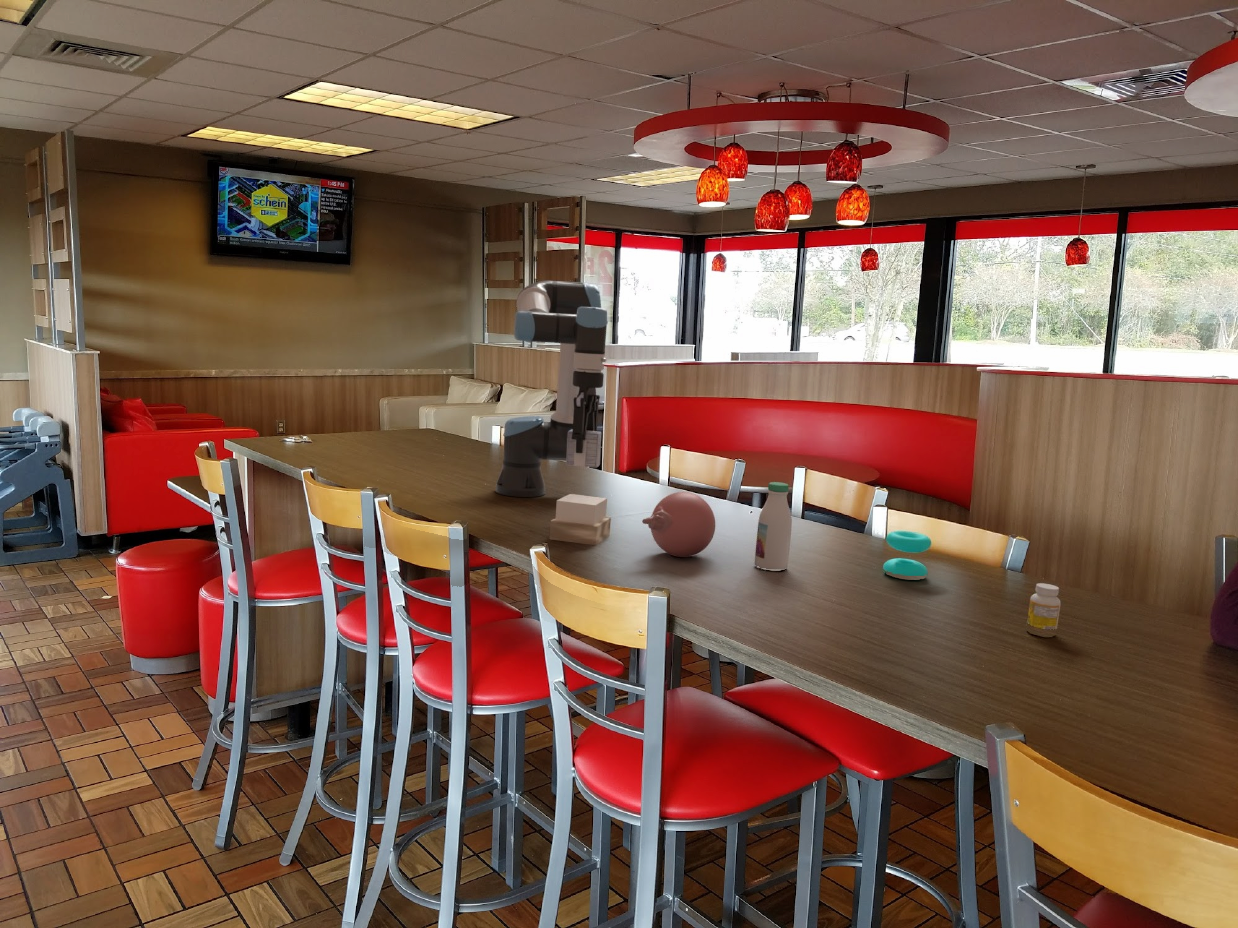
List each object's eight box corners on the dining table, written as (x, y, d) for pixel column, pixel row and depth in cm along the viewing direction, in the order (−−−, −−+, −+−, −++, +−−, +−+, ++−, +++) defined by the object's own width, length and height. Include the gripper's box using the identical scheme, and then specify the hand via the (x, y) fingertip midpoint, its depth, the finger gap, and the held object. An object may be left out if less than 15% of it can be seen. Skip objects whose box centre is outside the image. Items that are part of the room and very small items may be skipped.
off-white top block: (568, 512, 237) (570, 493, 237) (605, 517, 235) (607, 498, 234) (555, 520, 228) (556, 500, 227) (593, 525, 225) (595, 505, 224)
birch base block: (565, 530, 239) (566, 511, 238) (609, 536, 236) (610, 517, 235) (549, 540, 228) (550, 520, 227) (595, 546, 225) (596, 526, 224)
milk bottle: (790, 566, 217) (798, 483, 213) (784, 574, 209) (793, 488, 206) (757, 561, 219) (765, 479, 216) (751, 569, 212) (759, 483, 209)
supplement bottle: (1051, 640, 175) (1058, 592, 173) (1022, 633, 178) (1028, 585, 177) (1059, 634, 179) (1066, 586, 177) (1030, 627, 182) (1037, 580, 181)
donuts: (909, 528, 220) (941, 538, 211) (904, 569, 221) (936, 580, 213) (877, 530, 215) (909, 540, 206) (873, 571, 217) (904, 583, 208)
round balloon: (619, 552, 219) (624, 489, 217) (685, 545, 230) (690, 485, 228) (658, 569, 207) (663, 502, 204) (726, 560, 218) (731, 497, 215)
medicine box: (599, 465, 231) (602, 431, 230) (597, 468, 226) (599, 433, 225) (569, 463, 232) (571, 429, 231) (565, 465, 227) (567, 430, 226)
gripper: (591, 373, 216) (585, 471, 220) (613, 370, 233) (607, 461, 237) (561, 371, 218) (556, 467, 222) (585, 368, 235) (580, 458, 239)
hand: (583, 464), depth 229 cm, fingers closed on medicine box, 5 cm apart
